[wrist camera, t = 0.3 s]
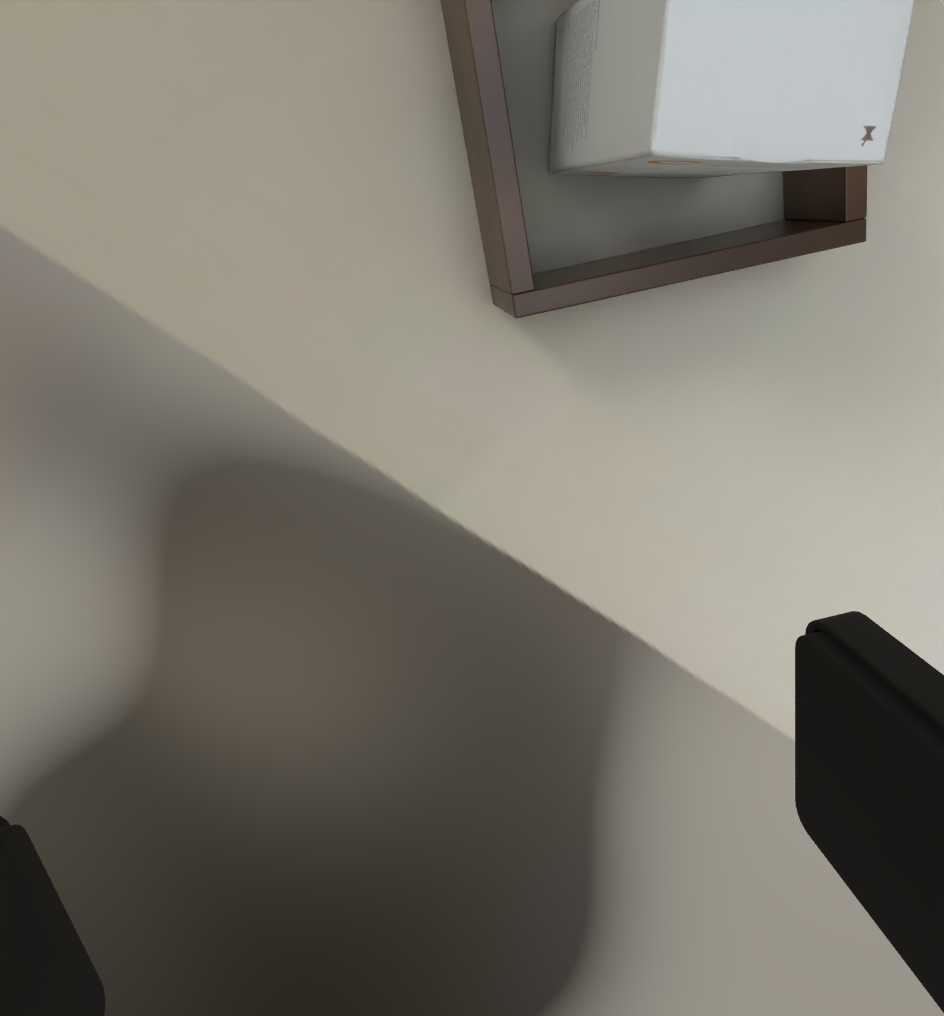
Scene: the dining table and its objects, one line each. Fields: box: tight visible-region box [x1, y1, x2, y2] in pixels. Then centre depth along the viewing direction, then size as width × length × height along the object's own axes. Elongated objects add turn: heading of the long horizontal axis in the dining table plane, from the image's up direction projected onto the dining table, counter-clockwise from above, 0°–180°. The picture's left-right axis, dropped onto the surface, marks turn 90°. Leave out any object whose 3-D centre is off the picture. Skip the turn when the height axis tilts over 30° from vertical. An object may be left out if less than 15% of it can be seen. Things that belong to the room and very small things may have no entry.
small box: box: [549, 0, 914, 178], centre depth 29 cm, size 8×6×13 cm
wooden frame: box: [441, 0, 867, 318], centre depth 33 cm, size 15×16×5 cm
